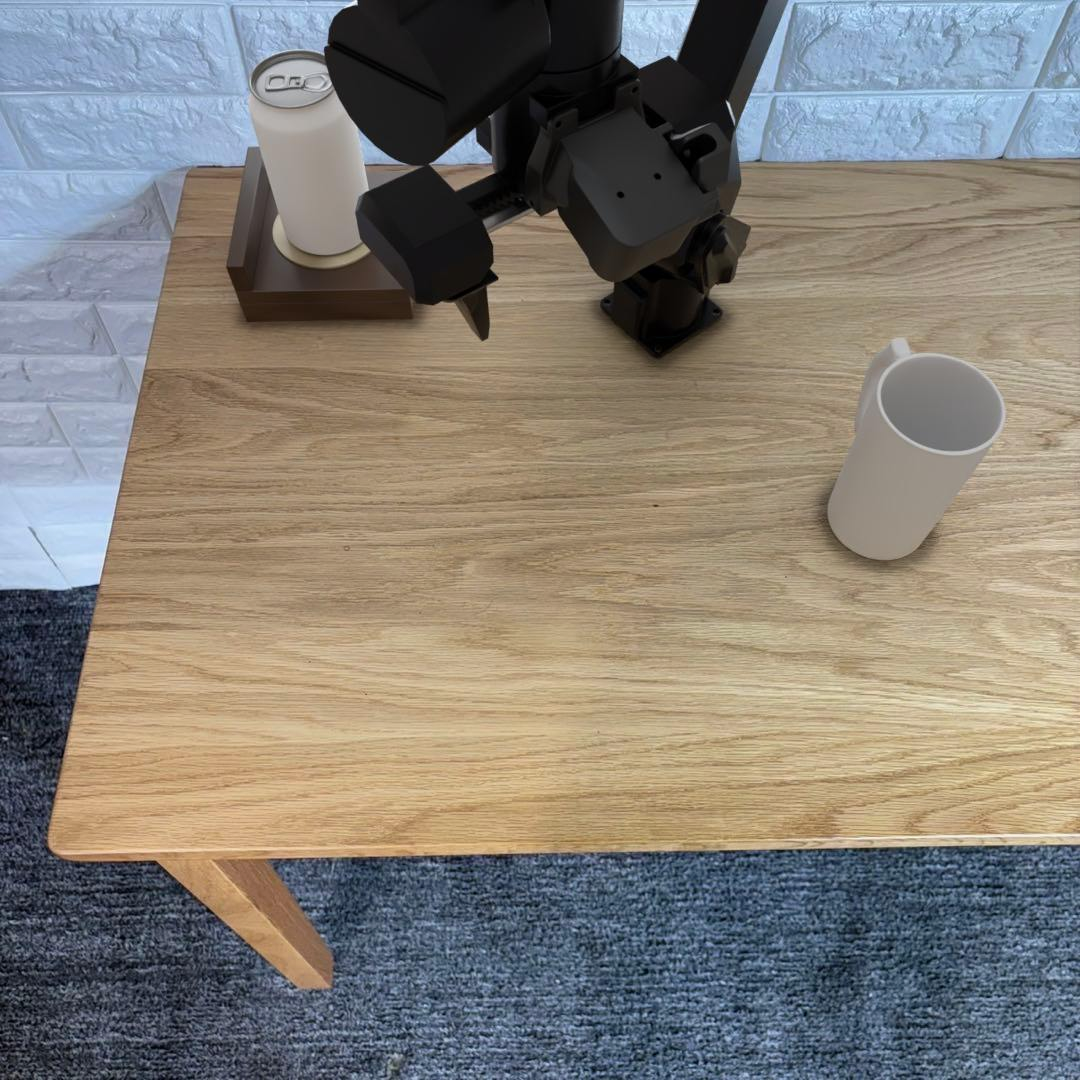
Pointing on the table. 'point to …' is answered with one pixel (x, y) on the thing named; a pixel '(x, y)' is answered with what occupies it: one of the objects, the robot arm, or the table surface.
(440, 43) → the robot arm
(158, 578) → the table surface
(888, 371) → the mug
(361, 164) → the can
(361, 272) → the coaster holder tray
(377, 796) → the table surface
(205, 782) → the table surface
